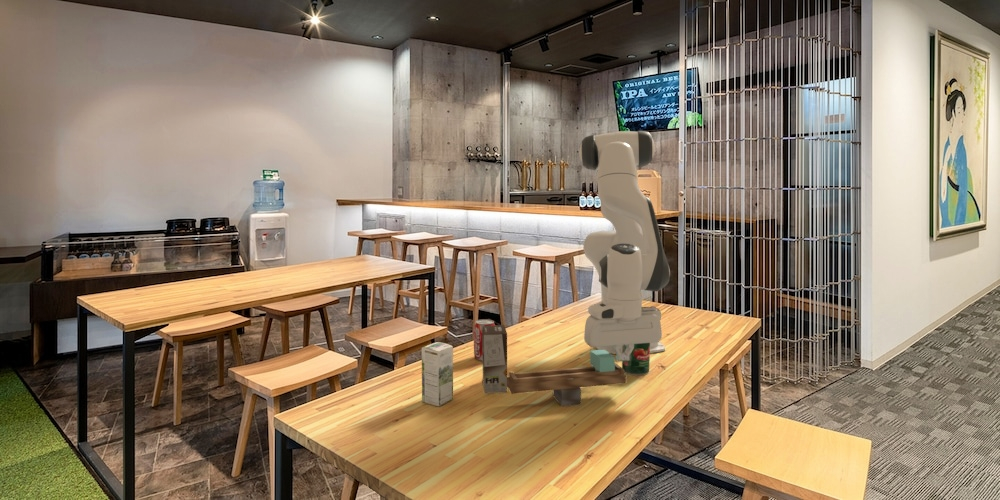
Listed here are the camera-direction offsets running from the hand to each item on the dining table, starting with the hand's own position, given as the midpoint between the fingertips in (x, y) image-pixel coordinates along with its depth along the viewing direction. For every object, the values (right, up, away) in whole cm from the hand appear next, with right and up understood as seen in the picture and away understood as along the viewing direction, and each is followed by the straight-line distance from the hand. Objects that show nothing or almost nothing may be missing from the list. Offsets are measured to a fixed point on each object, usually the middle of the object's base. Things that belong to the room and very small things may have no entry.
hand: (622, 360), depth 139 cm
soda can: (-36, -6, +31) cm, 48 cm away
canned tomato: (+8, -7, +19) cm, 22 cm away
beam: (-15, -10, -2) cm, 18 cm away
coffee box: (-33, -9, +7) cm, 35 cm away
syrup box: (-48, -10, -2) cm, 49 cm away
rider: (-6, -3, -1) cm, 6 cm away
